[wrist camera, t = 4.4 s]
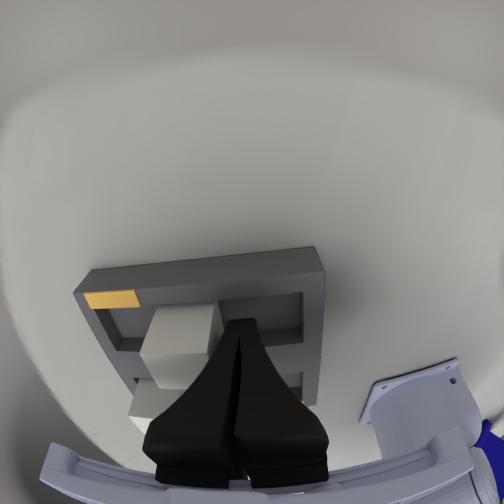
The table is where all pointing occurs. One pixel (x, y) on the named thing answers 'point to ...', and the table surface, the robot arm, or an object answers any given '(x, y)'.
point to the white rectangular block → (181, 342)
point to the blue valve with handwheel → (493, 455)
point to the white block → (150, 402)
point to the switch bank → (230, 304)
